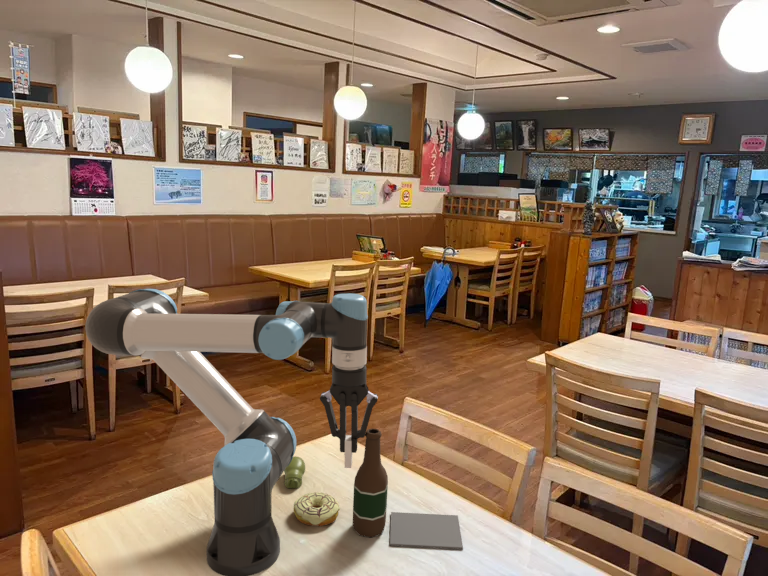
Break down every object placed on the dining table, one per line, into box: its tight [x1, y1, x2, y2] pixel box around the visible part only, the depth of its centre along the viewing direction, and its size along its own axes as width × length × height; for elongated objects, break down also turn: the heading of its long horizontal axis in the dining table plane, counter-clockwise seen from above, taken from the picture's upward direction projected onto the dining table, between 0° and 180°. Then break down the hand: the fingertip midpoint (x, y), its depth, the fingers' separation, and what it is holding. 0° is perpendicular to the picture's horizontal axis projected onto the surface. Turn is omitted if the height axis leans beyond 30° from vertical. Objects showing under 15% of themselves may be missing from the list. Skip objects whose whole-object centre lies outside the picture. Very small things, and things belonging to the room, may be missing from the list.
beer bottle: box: [352, 428, 389, 538], centre depth 127 cm, size 8×8×24 cm
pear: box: [283, 455, 306, 489], centre depth 148 cm, size 6×5×10 cm
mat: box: [389, 511, 464, 551], centre depth 129 cm, size 16×12×1 cm
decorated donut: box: [292, 491, 341, 527], centre depth 133 cm, size 10×11×4 cm
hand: (348, 464), depth 126 cm, fingers closed
